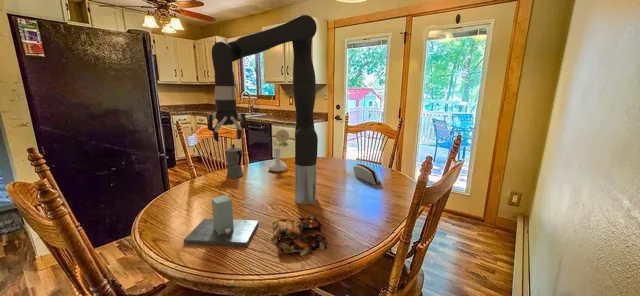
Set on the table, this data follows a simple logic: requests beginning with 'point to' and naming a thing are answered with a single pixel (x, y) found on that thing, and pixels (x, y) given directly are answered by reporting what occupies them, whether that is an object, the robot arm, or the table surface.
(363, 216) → the table surface
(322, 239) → the food
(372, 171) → the napkin holder
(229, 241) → the mounting plate
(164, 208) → the table surface
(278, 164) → the flower in vase
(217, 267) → the table surface
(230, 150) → the coffeepot
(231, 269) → the table surface
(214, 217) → the block
